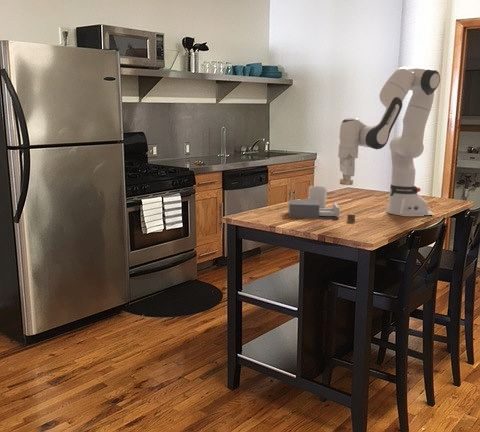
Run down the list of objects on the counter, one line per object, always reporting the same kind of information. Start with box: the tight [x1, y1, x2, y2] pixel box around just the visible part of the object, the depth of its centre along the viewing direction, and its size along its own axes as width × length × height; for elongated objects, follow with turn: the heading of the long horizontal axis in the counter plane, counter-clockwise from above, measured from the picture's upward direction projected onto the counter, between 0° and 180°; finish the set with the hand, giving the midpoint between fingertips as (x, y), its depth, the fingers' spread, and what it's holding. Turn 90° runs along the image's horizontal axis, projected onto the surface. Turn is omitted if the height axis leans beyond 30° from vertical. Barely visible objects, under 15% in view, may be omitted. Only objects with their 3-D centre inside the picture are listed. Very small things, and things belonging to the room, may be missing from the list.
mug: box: [307, 185, 328, 208], centre depth 281 cm, size 12×9×11 cm
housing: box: [288, 199, 339, 220], centre depth 262 cm, size 23×13×6 cm, turn 87°
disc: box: [339, 178, 354, 186], centre depth 250 cm, size 6×6×2 cm
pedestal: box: [346, 212, 356, 223], centre depth 250 cm, size 3×3×4 cm
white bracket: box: [319, 202, 340, 218], centre depth 261 cm, size 14×13×5 cm
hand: (346, 183), depth 250 cm, fingers closed on disc, 6 cm apart
